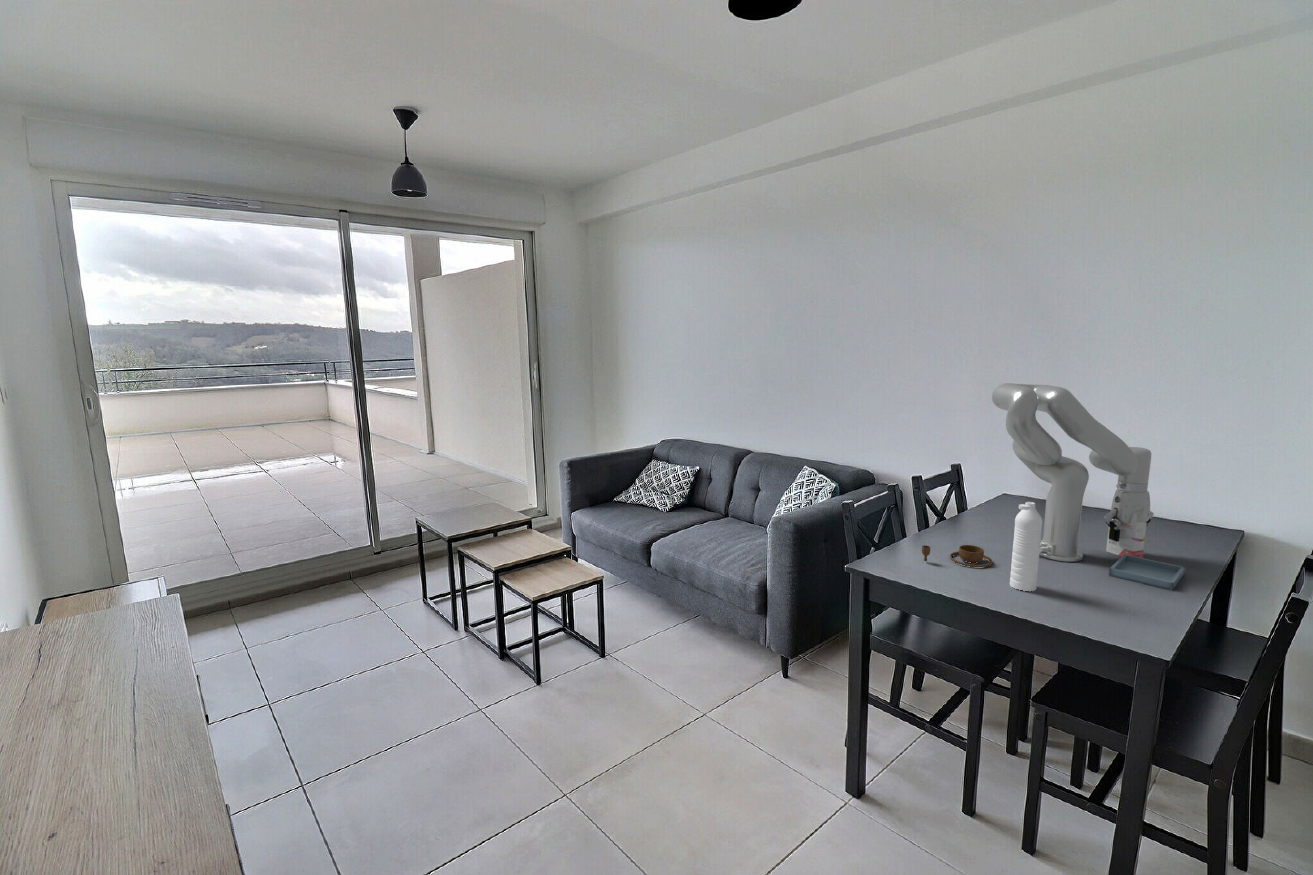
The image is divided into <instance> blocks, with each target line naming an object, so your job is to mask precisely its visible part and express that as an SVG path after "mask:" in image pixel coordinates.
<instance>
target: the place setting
mask: <svg viewBox="0 0 1313 875" xmlns="http://www.w3.org/2000/svg"><path fill="white" fill-rule="evenodd" d="M958 547H959V548H958V551H954V552H952V553H950V555H949V559H950V561H951V560H952V561H954V562H955V563H954V562H953V563H954V564H956V563H959V564H962V565H965V566H970V567H987V568H989V567H990V565H991V566H992V564H993V559H992V558H991V557H990V556H987V555H985V550H984V548H982V547H980V546H977V545H972V544H962V545H960V546H958ZM921 553H922V555H923V562H924V561H926V562H928V556H930V554H931V546H930V545H925V544H924V545H922V546H921ZM953 555H959V557H960V559H961V560H962V561H959V560H956V559H954V557H953V558H952V556H953ZM983 558H984V559H983ZM985 559H988V560H989V561H990V563H989V562H988V563H985V564H977V563H976V562H978V563H980V562H981V561H983V560H985ZM952 561H951V562H952ZM964 561H967V562H971V563H976V564H971V563H967V562H965V563H964ZM965 566H964V567H965ZM988 566H989V567H988ZM970 567H969V568H970Z"/></svg>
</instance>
